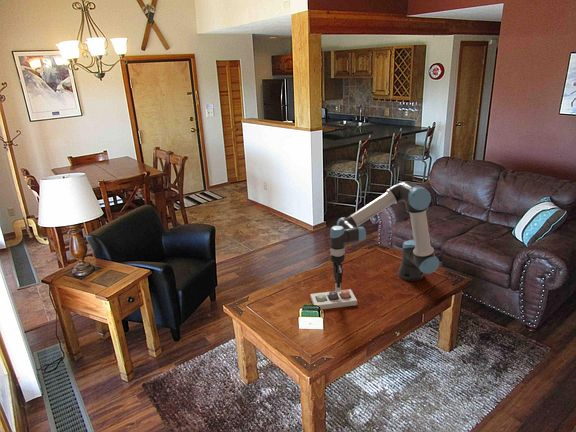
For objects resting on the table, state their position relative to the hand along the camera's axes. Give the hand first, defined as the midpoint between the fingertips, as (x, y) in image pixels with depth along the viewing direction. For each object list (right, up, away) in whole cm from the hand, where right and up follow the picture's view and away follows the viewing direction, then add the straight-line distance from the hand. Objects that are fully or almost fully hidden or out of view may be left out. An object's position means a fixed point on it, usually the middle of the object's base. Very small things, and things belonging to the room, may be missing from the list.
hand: (338, 291), depth 226 cm
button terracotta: (+4, -3, +2) cm, 6 cm away
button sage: (-9, -6, +1) cm, 11 cm away
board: (-2, -6, +2) cm, 7 cm away
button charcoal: (-3, -4, +1) cm, 5 cm away
